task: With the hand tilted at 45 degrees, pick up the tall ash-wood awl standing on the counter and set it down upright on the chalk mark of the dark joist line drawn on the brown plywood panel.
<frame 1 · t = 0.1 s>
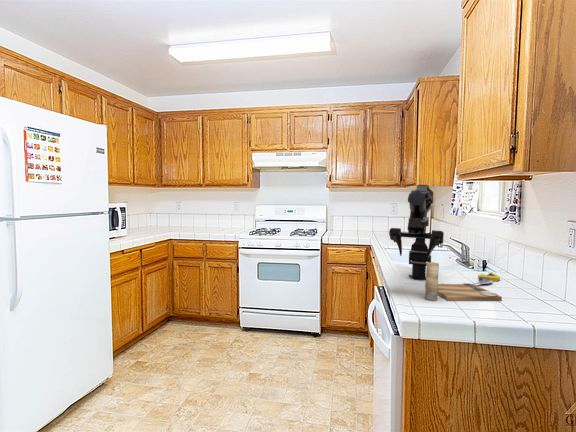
hand: (413, 256, 123), 15 cm above the worktop, fingers open, 9 cm apart
knife: (485, 282, 149), on the worktop
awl: (430, 299, 122), on the worktop
subfloor panel: (461, 293, 129), on the worktop
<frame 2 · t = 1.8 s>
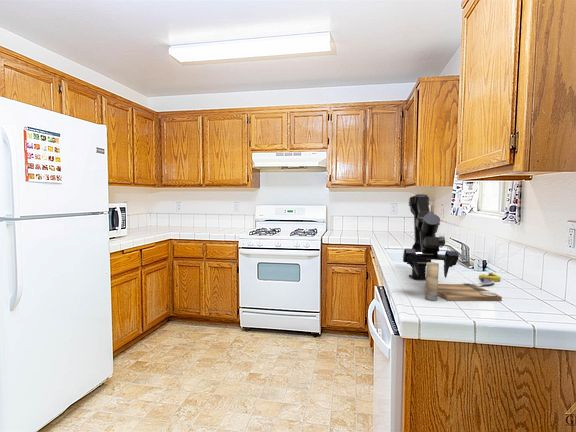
hand: (431, 276, 122), 8 cm above the worktop, fingers open, 9 cm apart
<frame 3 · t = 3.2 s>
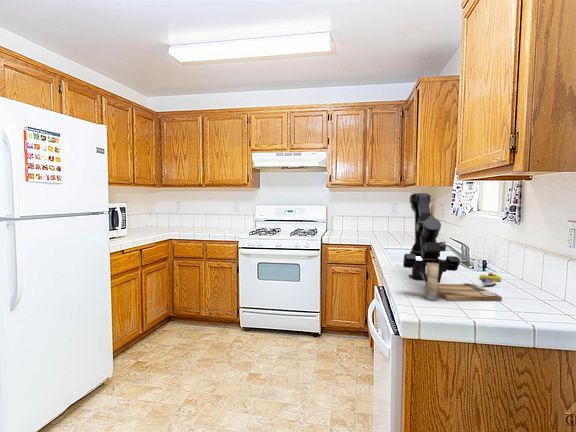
hand: (432, 282, 120), 7 cm above the worktop, fingers closed on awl, 4 cm apart
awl: (430, 299, 122), on the worktop, touching gripper
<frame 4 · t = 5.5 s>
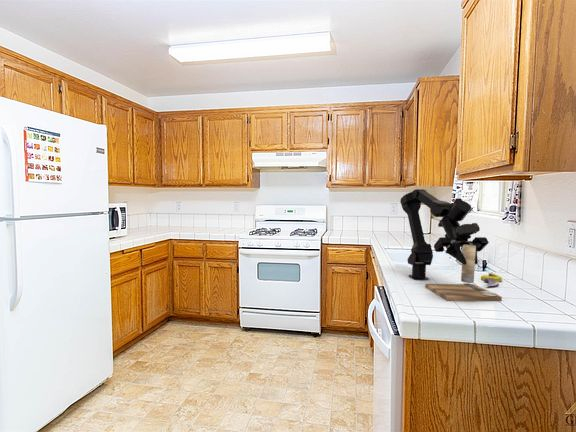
hand: (471, 264, 119), 13 cm above the worktop, fingers closed on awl, 4 cm apart
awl: (467, 281, 121), point 7 cm above the worktop, touching gripper
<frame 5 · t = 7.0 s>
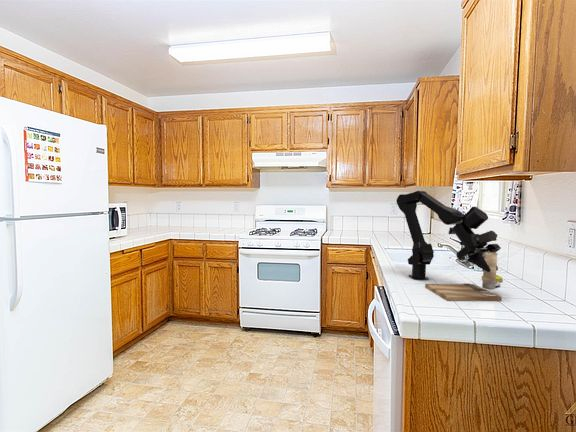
hand: (493, 271, 122), 10 cm above the worktop, fingers closed on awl, 4 cm apart
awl: (488, 287, 124), point 4 cm above the worktop, touching gripper
when the fingers open (9 cm above the worktop, at t = 7.9 s): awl stays where it is, resting on subfloor panel.
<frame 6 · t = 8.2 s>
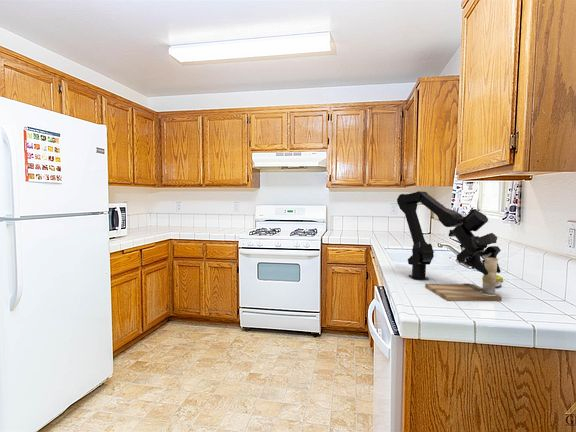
hand: (493, 273, 122), 10 cm above the worktop, fingers open, 7 cm apart
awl: (488, 293, 124), point 2 cm above the worktop, touching subfloor panel
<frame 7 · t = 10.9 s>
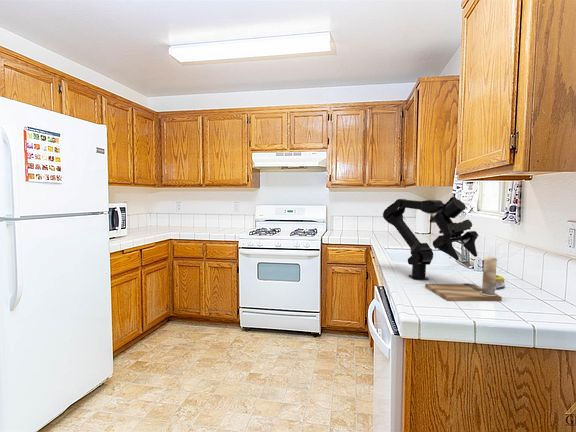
hand: (467, 257, 131), 13 cm above the worktop, fingers open, 9 cm apart
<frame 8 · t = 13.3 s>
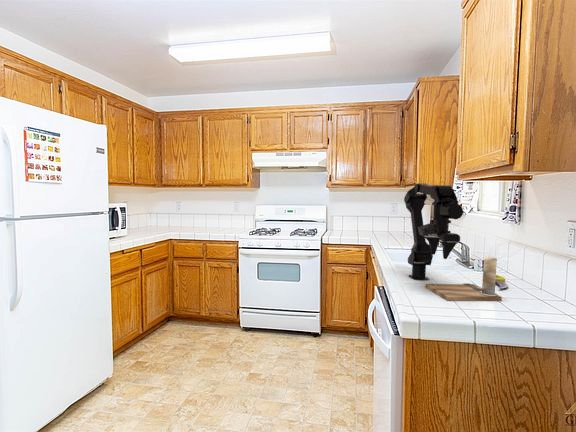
hand: (438, 256, 135), 13 cm above the worktop, fingers open, 9 cm apart
at the end: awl 0.1 cm from the target spot, point 1.8 cm above the worktop; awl tilted 0°; the gripper is holding nothing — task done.
